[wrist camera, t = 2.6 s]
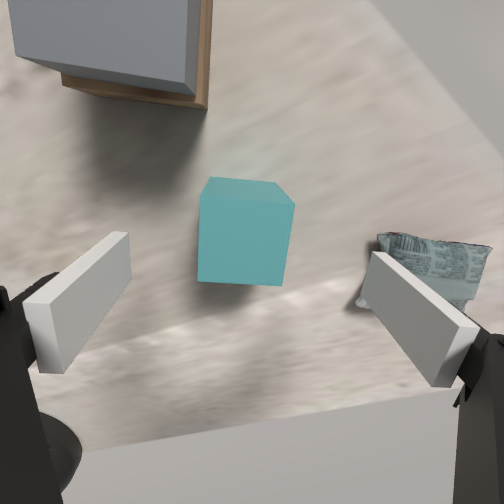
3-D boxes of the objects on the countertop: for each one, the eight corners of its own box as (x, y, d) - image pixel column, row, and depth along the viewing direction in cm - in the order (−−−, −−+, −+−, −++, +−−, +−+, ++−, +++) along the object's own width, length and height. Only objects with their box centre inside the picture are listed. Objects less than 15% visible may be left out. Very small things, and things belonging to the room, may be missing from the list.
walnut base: (96, 95, 23) (62, 85, 18) (84, -50, 20) (39, -108, 15) (207, 110, 24) (202, 104, 19) (214, -27, 21) (209, -74, 16)
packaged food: (442, 307, 33) (476, 334, 29) (347, 296, 32) (366, 322, 27) (475, 238, 30) (518, 255, 25) (371, 222, 29) (398, 237, 24)
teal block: (207, 238, 28) (197, 281, 20) (210, 176, 26) (200, 195, 17) (267, 242, 29) (281, 286, 20) (275, 182, 26) (294, 203, 18)
